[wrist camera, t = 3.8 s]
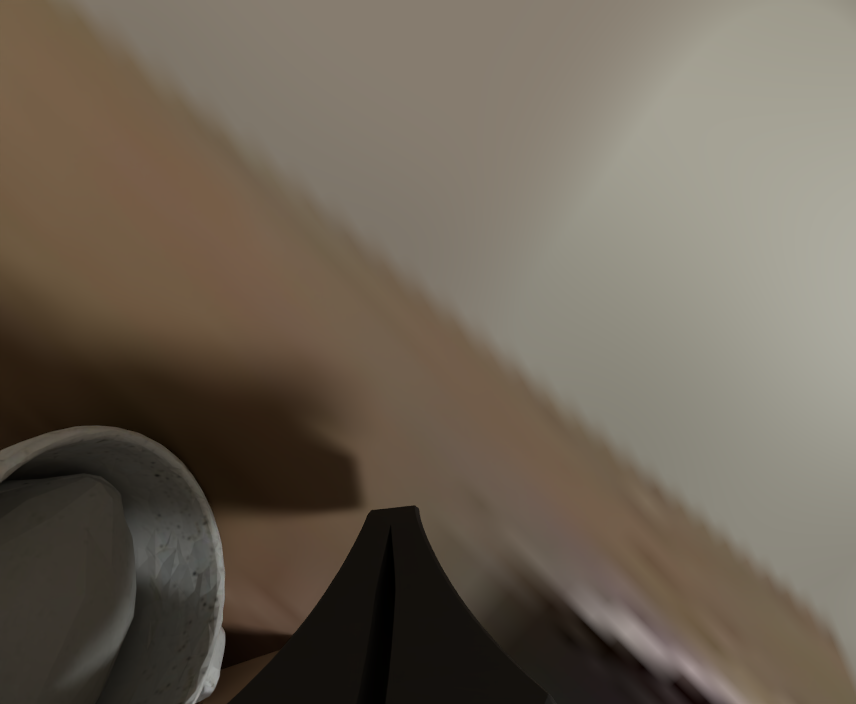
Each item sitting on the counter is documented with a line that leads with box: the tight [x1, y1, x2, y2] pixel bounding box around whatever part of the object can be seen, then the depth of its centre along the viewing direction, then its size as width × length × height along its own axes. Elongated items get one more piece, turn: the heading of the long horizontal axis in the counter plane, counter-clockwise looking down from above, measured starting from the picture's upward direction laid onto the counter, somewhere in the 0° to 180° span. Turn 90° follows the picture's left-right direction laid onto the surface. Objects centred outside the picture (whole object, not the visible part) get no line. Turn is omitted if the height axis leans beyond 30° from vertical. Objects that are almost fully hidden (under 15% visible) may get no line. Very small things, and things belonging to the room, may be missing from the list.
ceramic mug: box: [0, 425, 225, 704], centre depth 11 cm, size 11×8×8 cm
